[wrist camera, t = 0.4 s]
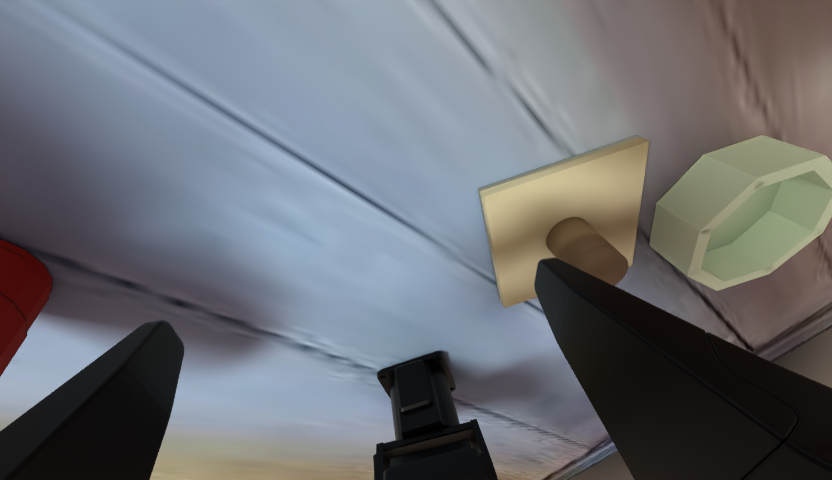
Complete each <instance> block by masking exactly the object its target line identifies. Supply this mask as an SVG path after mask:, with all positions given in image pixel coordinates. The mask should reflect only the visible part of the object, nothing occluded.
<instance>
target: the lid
mask: <svg viewBox="0 0 832 480" xmlns="http://www.w3.org/2000/svg"><path fill="white" fill-rule="evenodd" d="M648 146H649V141H648V140H645V139H643V138H641V137H640V138H637V139H634V140H631V141H628V142H625V143H622V144H619V145H616V146H613V147H610V148H607V149H604V150H601V151H598V152H595V153H592V154H589V155H586V156H583V157H580V158H577V159H574V160H571V161H568V162H565V163H562V164H559V165H556V166H554V167H551V168H548V169H545V170H542V171H539V172H536V173H533V174H530V175H527V176H524V177H521V178H518V179H515V180H512V181H509V182H506V183H503V184H500V185H497V186H494V187H491V188H488V189H485V190H482V191H480V195H481V200H482V205H483V210H484V216H485V221H486V226H487V231H488V237H489V242H490V247H491V252H492V258H493V263H494V268H495V273H496V279H497V284H498V289H499V294H500V300H501V302H502V304H503V306H504V308H505V307H508V306H511V305H514V304H517V303H521V302H524V301H527V300H530V299H533V298H536V297H537V295H536V292H535V288H534V282H535V276H536V270H537V265H538V262H539V261H540V260H541V259H545V258H552V257H555V258H558V259H560V260H562V261H564V262H566V263H569V264H571V265H573V266H575V267H577V268H579V269H581V270H583V271H585V272H587V273H589V274H591V275H593V276H595V277H597V278H599V279H601V280H603V281H605V282H607V283H609V284H611V285H613V286H615V285H616V284H617V283H618V282H619V281H620V280H621V279H622V278H623V277H624V276H625V274H626V272H627V270H628V267H630V266H632V262H633V255H634V248H635V241H636V233H637V226H638V219H639V212H640V204H641V197H642V190H643V183H644V175H645V168H646V161H647V154H648Z"/></svg>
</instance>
